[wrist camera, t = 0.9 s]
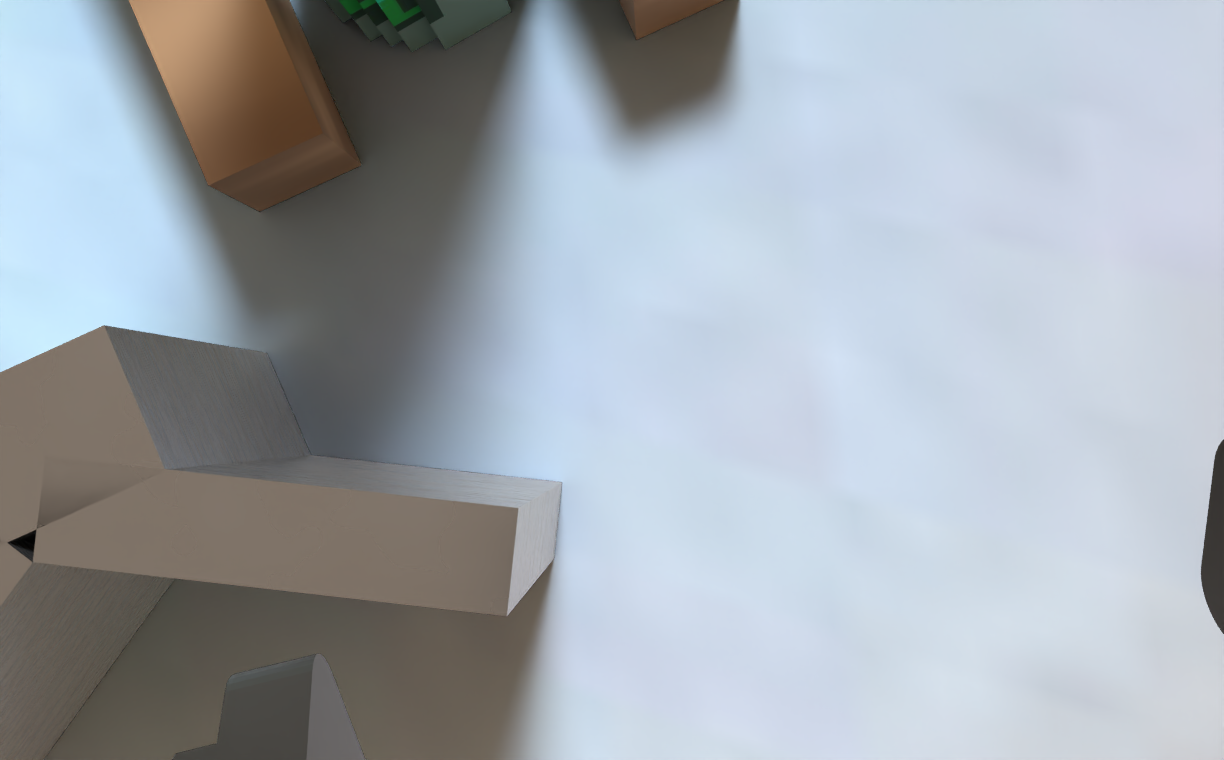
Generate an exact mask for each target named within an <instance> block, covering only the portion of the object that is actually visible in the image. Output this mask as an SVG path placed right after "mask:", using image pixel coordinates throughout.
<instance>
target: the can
mask: <svg viewBox="0 0 1224 760" xmlns="http://www.w3.org/2000/svg"><path fill="white" fill-rule="evenodd" d="M325 2H326V3H327V4H328V5H329V6H330V8H331V9H332V10H333V11H334V13H335V14H336V15H337V16H338V18H339V19H340V20H341V21H342V22H343V23H344V22H346V21H348V20H349V19H351V18H353V19H354V21H355V22H356V23H357V25H358V26H359V27H360V28H361V30H362V31H363V32H364V33H365V35H366V36H367V37H368V39H369V40H370V41H372V40H374V39H376V38H378V37H379V36H381V35H383V36H384V38H385V39H386V41H387V42H388V43H389V45H390V46H391V47H392V46H394V45H395V44H397V43H399V42H400V41H402V40H404V42H405V43H406V45H407V46H408V48H409V49H410V51H411V52H413V51H415V50H416V49H418V48H420V47H422V46H423V45H425V44H427V43H429V42H430V41H432V40H434V39H436V38H437V37H438V39H439V40H440V42H441V44H442V45H443V47H444V49H445V50H446V49H448V48H450V47H452V46H453V45H455V44H457V43H459V42H460V41H462V40H464V39H466V38H467V37H469V36H471V35H473V34H474V33H476V32H478V31H479V30H481V29H483V28H485V27H486V26H488V25H490V24H492V23H493V22H495V21H497V20H499V19H500V18H502V17H504V16H506V15H507V14H509V13H511V9H510V7H509V4H508V1H507V0H325Z"/></svg>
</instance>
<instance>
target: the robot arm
mask: <svg viewBox="0 0 1224 760" xmlns="http://www.w3.org/2000/svg"><path fill="white" fill-rule="evenodd" d="M1201 580H1202V587H1203V592H1204V595H1205V599H1206V602H1207V604H1208V607H1209V610H1210V612H1211V614H1212V616H1213V618H1214V620H1215V622H1216V623H1217V625H1218V627H1219V628H1220V630H1221V631H1222V633H1223V634H1224V440H1223V441H1222V442H1221V443H1220V445H1219V446H1218V449H1217V451H1216V455H1215V460H1214V468H1213V476H1212V484H1211V492H1210V500H1209V508H1208V516H1207V524H1206V532H1205V540H1204V548H1203V556H1202V565H1201ZM172 760H365V757H364V754H363V752H362V749H361V747H360V744H359V741H358V739H357V736H356V733H355V731H354V728H353V726H352V723H351V720H350V718H349V715H348V713H347V710H346V707H345V705H344V702H343V699H342V697H341V694H340V692H339V689H338V686H337V684H336V681H335V679H334V676H333V673H332V671H331V668H330V666H329V664H328V662H327V660H326V659H325V658H324V656H323V655H321V654H315V655H311V656H307V657H303V658H298V659H294V660H290V661H286V662H282V663H278V664H274V665H270V666H265V667H261V668H257V669H253V670H249V671H245V672H241V673H237V674H233V675H232V676H231V677H230V678H229V680H228V682H227V685H226V690H225V695H224V702H223V708H222V714H221V721H220V727H219V734H218V740H217V744H213V745H209V746H205V747H201V748H196V749H192V750H188V751H184V752H180V753H176V755H175V756H174V758H173V759H172Z"/></svg>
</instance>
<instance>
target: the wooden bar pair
mask: <svg viewBox="0 0 1224 760" xmlns="http://www.w3.org/2000/svg"><path fill="white" fill-rule="evenodd" d="M721 1H723V0H619V2H620V5H621V7H622V9H623V11H624V13H625V16H626V18H627V20H628V22H629V24H630V27H631V29H632V31H633V33H634V35H635V38H636V40H638V39H640V38H642V37H644V36H647V35H649V34H651V33H653V32H655V31H658V30H660V29H662V28H664V27H666V26H669V25H671V24H673V23H675V22H677V21H680V20H682V19H684V18H686V17H688V16H690V15H693V14H695V13H697V12H699V11H701V10H704V9H706V8H708V7H710V6H712V5H715V4H717V3H719V2H721ZM129 2H130V5H131V7H132V9H133V12H134V14H135V16H136V19H137V21H138V23H139V26H140V28H141V30H142V33H143V35H144V37H145V39H146V42H147V44H148V46H149V49H150V51H151V53H152V56H153V58H154V60H155V63H156V65H157V67H158V70H159V72H160V74H161V77H162V79H163V81H164V84H165V86H166V88H167V91H168V93H169V95H170V98H171V100H172V102H173V105H174V107H175V109H176V112H177V114H178V116H179V119H180V121H181V123H182V126H183V128H184V130H185V133H186V135H187V137H188V139H189V142H190V144H191V146H192V149H193V151H194V153H195V156H196V158H197V160H198V163H199V165H200V167H201V170H202V172H203V174H204V177H205V179H206V181H207V184H208V186H210V187H212V188H214V189H216V190H218V191H220V192H222V193H224V194H226V195H228V196H230V197H232V198H234V199H236V200H238V201H240V202H242V203H243V204H245V205H247V206H249V207H251V208H253V209H255V210H257V211H259V212H260V211H262V210H265V209H267V208H269V207H271V206H273V205H276V204H278V203H280V202H282V201H284V200H287V199H289V198H291V197H293V196H295V195H298V194H300V193H302V192H304V191H306V190H309V189H311V188H313V187H315V186H317V185H320V184H322V183H324V182H326V181H328V180H331V179H333V178H335V177H337V176H339V175H342V174H344V173H346V172H348V171H350V170H352V169H355V168H357V167H359V166H361V163H360V160H359V158H358V156H357V153H356V151H355V149H354V147H353V144H352V142H351V140H350V137H349V135H348V133H347V131H346V128H345V126H344V124H343V121H342V119H341V117H340V115H339V112H338V110H337V108H336V105H335V103H334V101H333V99H332V96H331V94H330V92H329V89H328V87H327V85H326V83H325V80H324V78H323V76H322V73H321V71H320V69H319V67H318V64H317V62H316V60H315V57H314V55H313V53H312V51H311V48H310V46H309V44H308V41H307V39H306V37H305V35H304V32H303V30H302V28H301V25H300V23H299V21H298V19H297V16H296V14H295V12H294V9H293V7H292V5H291V3H290V0H129Z"/></svg>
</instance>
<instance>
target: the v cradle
mask: <svg viewBox="0 0 1224 760" xmlns="http://www.w3.org/2000/svg"><path fill="white" fill-rule="evenodd" d="M561 488H562V482H556V481H547V480H538V479H529V478H519V477H510V476H501V475H492V474H483V473H473V472H464V471H455V470H446V469H436V468H427V467H418V466H409V465H400V464H390V463H381V462H372V461H363V460H353V459H344V458H335V457H326V456H317V455H311V454H310V452H309V449H308V447H307V445H306V442H305V440H304V438H303V436H302V433H301V431H300V429H299V426H298V424H297V422H296V419H295V417H294V415H293V412H292V410H291V408H290V405H289V403H288V401H287V398H286V396H285V394H284V391H283V389H282V387H281V384H280V382H279V380H278V377H277V375H276V373H275V370H274V368H273V366H272V363H271V361H270V359H269V356H268V354H267V353H265V352H259V351H253V350H247V349H241V348H235V347H229V346H224V345H218V344H212V343H206V342H200V341H194V340H188V339H182V338H176V337H170V336H164V335H158V334H152V333H146V332H140V331H134V330H129V329H123V328H117V327H111V326H105V325H104V326H102V327H99V328H97V329H95V330H93V331H91V332H88V333H86V334H84V335H82V336H80V337H77V338H75V339H73V340H71V341H69V342H66V343H64V344H62V345H60V346H58V347H55V348H53V349H51V350H49V351H47V352H44V353H42V354H40V355H38V356H36V357H33V358H31V359H29V360H27V361H25V362H22V363H20V364H18V365H16V366H14V367H11V368H9V369H7V370H5V371H3V372H0V760H44V758H45V757H46V755H47V754H48V753H49V751H50V750H51V749H52V747H53V746H54V744H55V743H56V742H57V740H58V739H59V738H60V736H61V735H62V733H63V732H64V731H65V729H66V728H67V727H68V725H69V724H70V722H71V721H72V720H73V718H74V717H75V715H76V714H77V713H78V711H79V710H80V709H81V707H82V706H83V704H84V703H85V702H86V700H87V699H88V698H89V696H90V695H91V693H92V692H93V691H94V689H95V688H96V687H97V685H98V684H99V682H100V681H101V680H102V678H103V677H104V676H105V674H106V673H107V671H108V670H109V669H110V667H111V666H112V665H113V663H114V662H115V660H116V659H117V658H118V656H119V655H120V653H121V652H122V651H123V649H124V648H125V647H126V645H127V644H128V642H129V641H130V640H131V638H132V637H133V636H134V634H135V633H136V631H137V630H138V629H139V627H140V626H141V625H142V623H143V622H144V620H145V619H146V618H147V616H148V615H149V614H150V612H151V611H152V609H153V608H154V607H155V605H156V604H157V603H158V601H159V600H160V598H161V597H162V596H163V594H164V593H165V591H166V590H167V589H168V587H169V586H170V585H171V583H172V582H173V580H174V579H175V578H176V579H184V580H193V581H202V582H210V583H219V584H228V585H237V586H245V587H254V588H263V589H272V590H280V591H289V592H298V593H307V594H315V595H324V596H333V597H341V598H350V599H359V600H368V601H376V602H385V603H394V604H403V605H411V606H420V607H429V608H438V609H446V610H455V611H464V612H472V613H481V614H490V615H499V616H508V614H509V613H510V612H511V611H512V610H513V608H514V607H515V606H516V605H517V603H518V602H519V601H520V600H521V598H522V597H523V596H524V595H525V594H526V592H527V591H528V590H529V589H530V587H531V586H532V585H533V584H534V583H535V581H536V580H537V579H538V578H539V576H540V575H541V574H542V573H543V571H544V570H545V569H546V568H547V567H548V565H549V564H550V563H551V562H552V560H553V559H554V554H555V544H556V535H557V526H558V516H559V507H560V497H561Z"/></svg>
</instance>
